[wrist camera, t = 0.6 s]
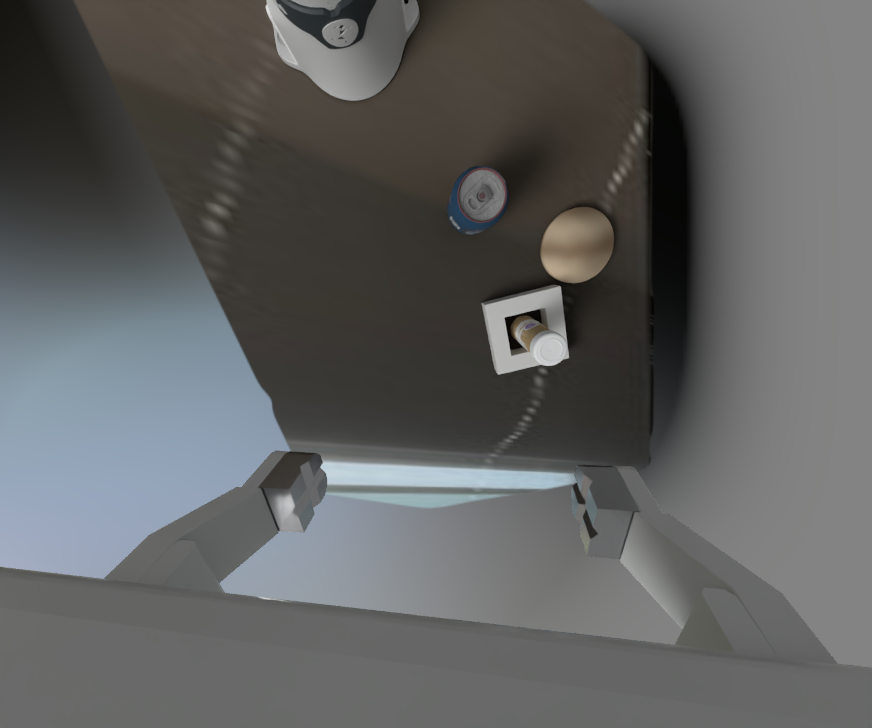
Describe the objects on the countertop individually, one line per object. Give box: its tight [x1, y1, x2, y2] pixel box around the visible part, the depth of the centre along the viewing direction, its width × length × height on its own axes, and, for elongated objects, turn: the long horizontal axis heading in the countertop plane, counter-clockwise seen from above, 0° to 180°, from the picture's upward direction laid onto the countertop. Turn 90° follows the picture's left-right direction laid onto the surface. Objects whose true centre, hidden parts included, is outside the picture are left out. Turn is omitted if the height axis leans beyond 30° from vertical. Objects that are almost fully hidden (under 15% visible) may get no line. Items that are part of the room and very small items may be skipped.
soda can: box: [448, 166, 508, 235], centre depth 42 cm, size 7×7×12 cm
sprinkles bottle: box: [510, 316, 568, 366], centre depth 47 cm, size 5×5×14 cm
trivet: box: [540, 207, 614, 283], centre depth 49 cm, size 11×11×1 cm
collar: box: [482, 285, 569, 375], centre depth 52 cm, size 12×12×3 cm
